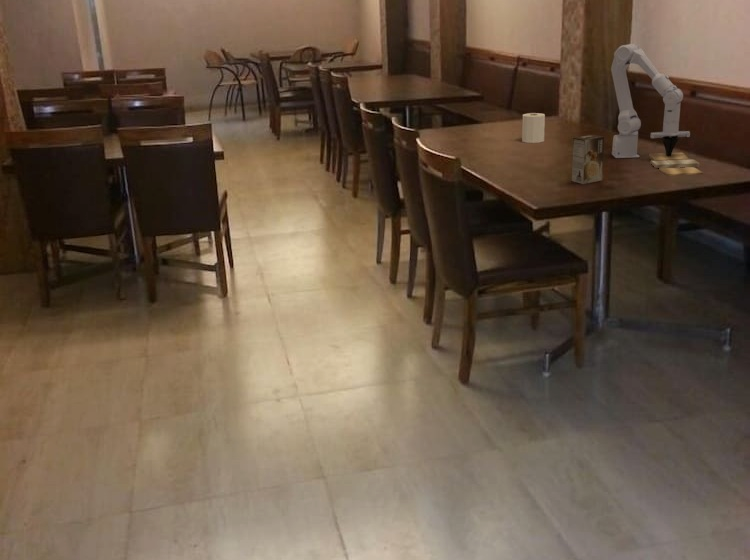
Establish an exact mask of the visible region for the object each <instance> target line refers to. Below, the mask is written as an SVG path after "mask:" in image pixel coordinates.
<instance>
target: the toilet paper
mask: <svg viewBox="0 0 750 560" xmlns="http://www.w3.org/2000/svg"><path fill="white" fill-rule="evenodd" d="M545 121H546V115H545V113H539V112H537V113H536V112H529V113H528V112H527V113H524V114H522V127H521V132H522V134H521V142H523V143H527V144H529V143H530V144H536V143H540V144H541V143H543V142H545V124H546V122H545Z"/></svg>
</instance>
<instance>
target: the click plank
mask: <svg viewBox="0 0 750 560" xmlns="http://www.w3.org/2000/svg"><path fill="white" fill-rule="evenodd" d="M648 157H649V159H650V160H666V159H690V158H689V157H688V156H687V155H686V154H685V153H684V152H672V154H671V156H667V155H666V152H663V153H662V152H660V153H649V155H648Z"/></svg>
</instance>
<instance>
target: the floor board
mask: <svg viewBox="0 0 750 560" xmlns="http://www.w3.org/2000/svg"><path fill="white" fill-rule="evenodd" d="M651 164H652V165H653V166H654V168H655V169H656V168H659V169H662V168H680V167H694V168H700V162H699V161H697V160H695V159H694V158H689V159H666V160H652V159H650V165H651ZM652 165H651V166H652ZM653 166H652V167H653Z"/></svg>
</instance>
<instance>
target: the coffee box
mask: <svg viewBox="0 0 750 560" xmlns="http://www.w3.org/2000/svg"><path fill="white" fill-rule="evenodd" d="M572 140H573V142H572V166H571V167H572V169H571V170H572V172H571V182H574V183H577V184H581V185H586V184H590V183H596V182H601V181H603V173H604V172H603V170H604V169H603V168H604V150H605V147H604V146H605V136H602V135H596V134H587V135H582V136H575V137H573V138H572Z"/></svg>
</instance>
